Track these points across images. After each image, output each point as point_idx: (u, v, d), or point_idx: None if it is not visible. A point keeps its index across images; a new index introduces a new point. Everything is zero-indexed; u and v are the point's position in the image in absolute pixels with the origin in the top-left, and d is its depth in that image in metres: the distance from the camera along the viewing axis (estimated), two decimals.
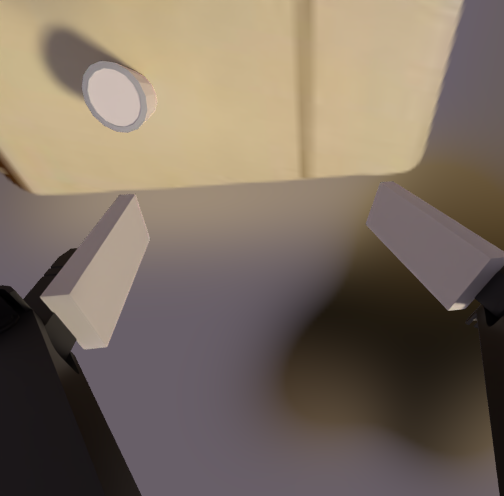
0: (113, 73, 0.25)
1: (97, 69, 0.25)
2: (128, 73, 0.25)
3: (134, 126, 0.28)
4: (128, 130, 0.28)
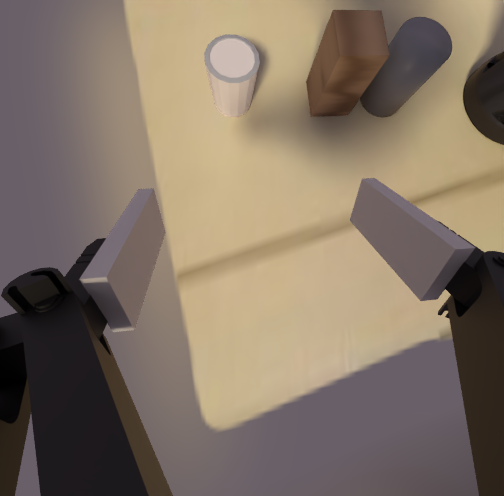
0: (251, 60, 0.29)
1: (252, 49, 0.29)
2: (254, 72, 0.29)
3: (211, 69, 0.28)
4: (207, 63, 0.28)
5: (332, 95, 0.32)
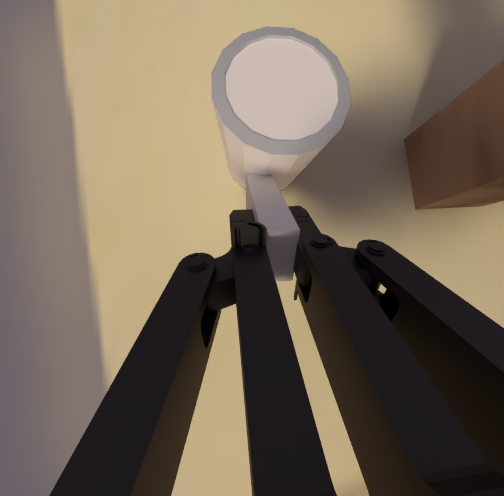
0: (331, 96, 0.11)
1: (333, 68, 0.12)
2: (336, 126, 0.11)
3: (228, 116, 0.11)
4: (217, 100, 0.11)
5: (490, 189, 0.15)
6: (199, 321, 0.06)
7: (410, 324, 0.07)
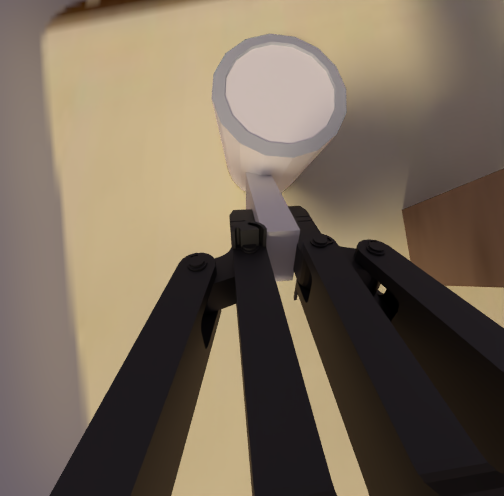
0: (328, 103, 0.12)
1: (331, 76, 0.12)
2: (331, 133, 0.11)
3: (226, 116, 0.11)
4: (216, 101, 0.11)
5: None
6: (199, 321, 0.06)
7: (410, 324, 0.07)
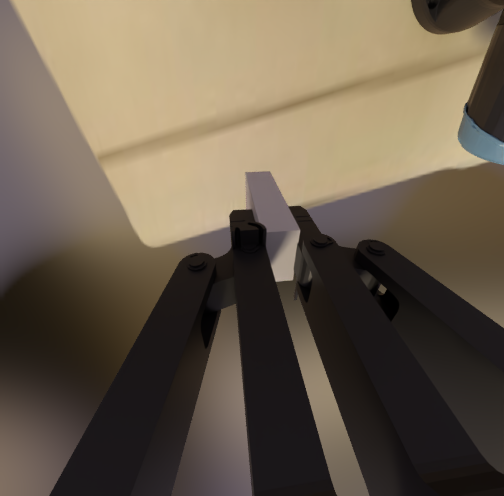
0: None
1: None
2: None
3: None
4: None
5: None
6: (199, 321, 0.06)
7: (410, 324, 0.07)
